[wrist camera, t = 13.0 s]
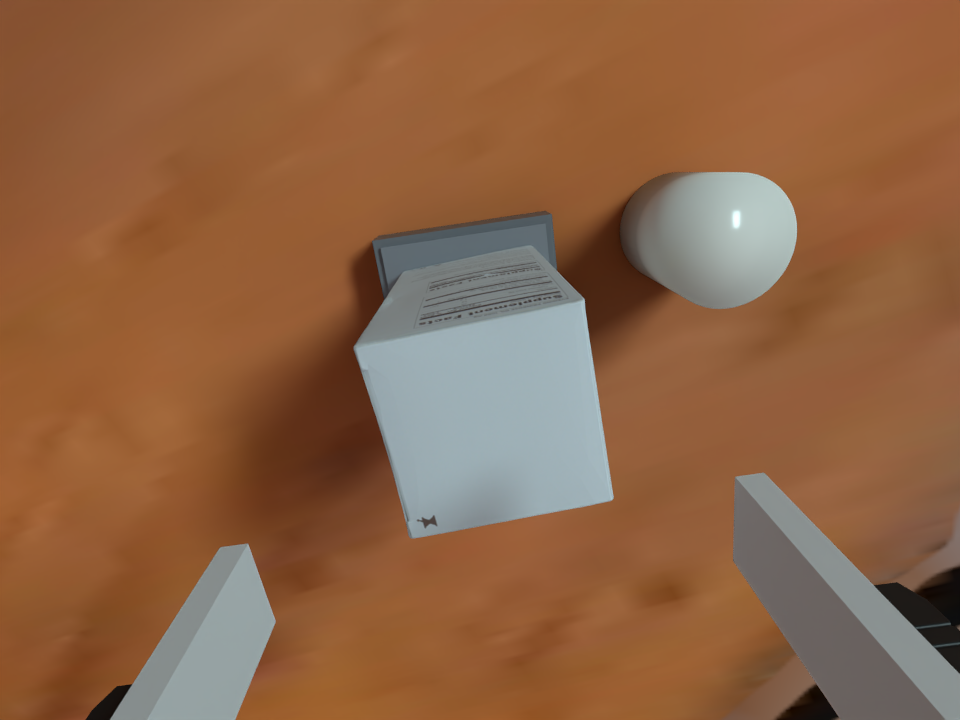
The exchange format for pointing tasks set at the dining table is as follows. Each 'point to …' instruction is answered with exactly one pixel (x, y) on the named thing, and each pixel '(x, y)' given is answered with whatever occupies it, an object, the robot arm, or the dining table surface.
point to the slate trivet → (461, 243)
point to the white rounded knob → (710, 235)
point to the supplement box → (486, 392)
